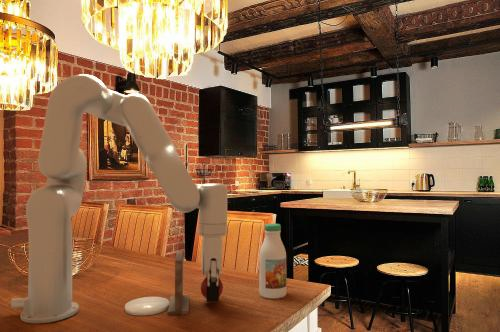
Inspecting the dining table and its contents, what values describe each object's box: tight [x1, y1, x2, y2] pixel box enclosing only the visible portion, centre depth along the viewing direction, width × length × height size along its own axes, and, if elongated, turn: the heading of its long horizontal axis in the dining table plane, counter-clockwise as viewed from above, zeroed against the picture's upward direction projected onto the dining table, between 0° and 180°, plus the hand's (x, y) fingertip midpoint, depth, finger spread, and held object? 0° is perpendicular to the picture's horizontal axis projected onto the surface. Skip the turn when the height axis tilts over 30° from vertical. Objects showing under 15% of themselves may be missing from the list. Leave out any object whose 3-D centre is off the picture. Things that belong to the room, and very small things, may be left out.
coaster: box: [124, 296, 170, 317], centre depth 96 cm, size 11×11×1 cm
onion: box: [200, 272, 224, 299], centre depth 99 cm, size 6×6×8 cm
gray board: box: [167, 250, 190, 316], centre depth 97 cm, size 5×12×13 cm, turn 9°
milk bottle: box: [258, 223, 287, 300], centre depth 106 cm, size 8×8×20 cm
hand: (211, 296), depth 99 cm, fingers closed on onion, 5 cm apart
